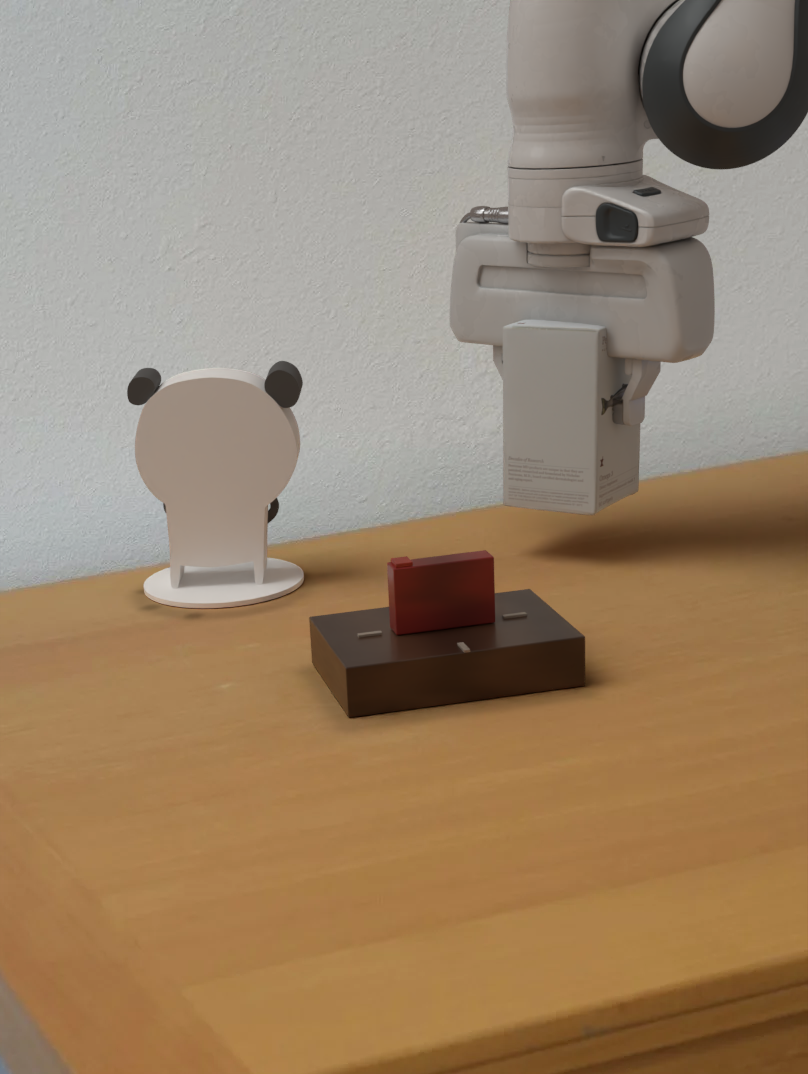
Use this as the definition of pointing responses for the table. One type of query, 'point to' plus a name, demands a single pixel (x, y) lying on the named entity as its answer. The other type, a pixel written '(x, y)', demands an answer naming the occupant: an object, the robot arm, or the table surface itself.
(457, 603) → the red rectangular block
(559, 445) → the white packaging box
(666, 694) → the table surface
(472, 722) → the table surface
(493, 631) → the stamp base
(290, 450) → the panda figurine
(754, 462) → the table surface
